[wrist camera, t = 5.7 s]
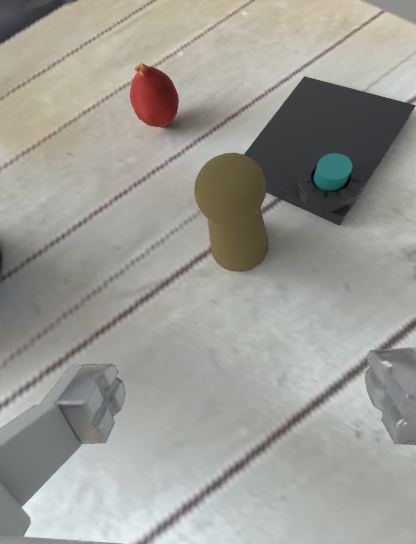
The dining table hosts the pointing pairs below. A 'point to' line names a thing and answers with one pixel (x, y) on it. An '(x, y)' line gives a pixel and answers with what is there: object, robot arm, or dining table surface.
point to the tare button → (332, 172)
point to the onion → (153, 96)
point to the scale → (326, 143)
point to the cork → (233, 209)
